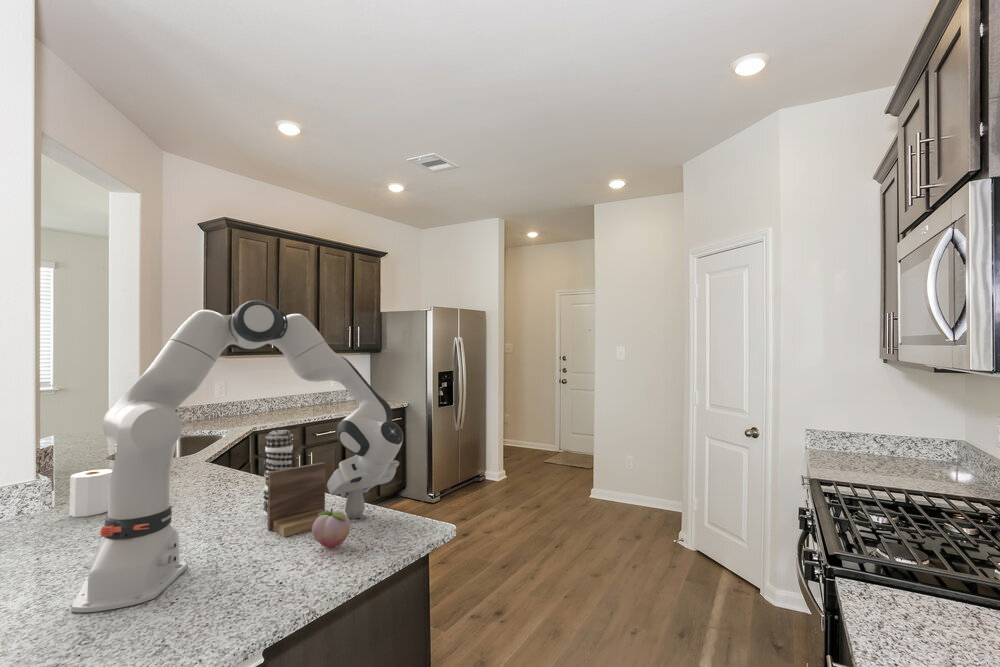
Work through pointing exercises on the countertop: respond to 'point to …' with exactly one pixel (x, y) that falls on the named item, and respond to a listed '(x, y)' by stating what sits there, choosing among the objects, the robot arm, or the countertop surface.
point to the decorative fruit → (331, 528)
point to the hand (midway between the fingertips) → (353, 492)
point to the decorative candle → (277, 456)
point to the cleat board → (295, 498)
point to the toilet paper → (89, 492)
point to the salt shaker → (355, 504)
